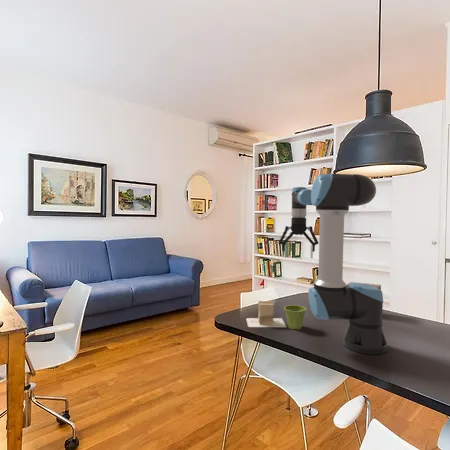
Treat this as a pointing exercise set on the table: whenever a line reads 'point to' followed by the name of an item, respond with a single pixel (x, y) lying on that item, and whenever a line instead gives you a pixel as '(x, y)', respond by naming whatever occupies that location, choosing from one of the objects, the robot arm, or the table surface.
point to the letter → (255, 323)
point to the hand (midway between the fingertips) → (298, 257)
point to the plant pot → (294, 316)
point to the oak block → (265, 313)
